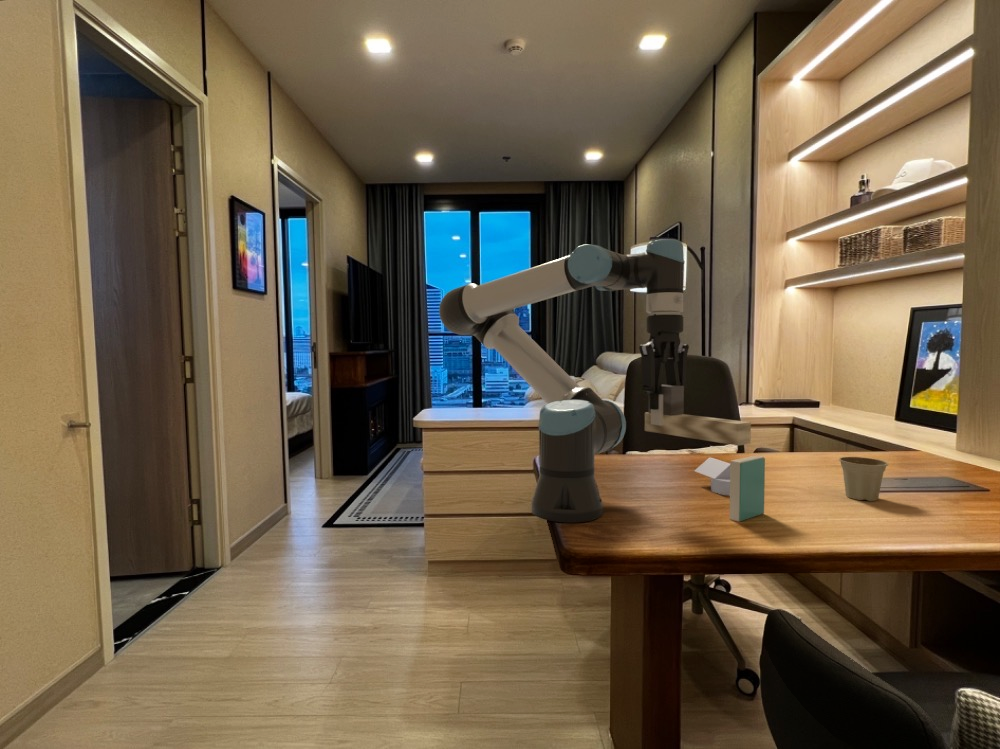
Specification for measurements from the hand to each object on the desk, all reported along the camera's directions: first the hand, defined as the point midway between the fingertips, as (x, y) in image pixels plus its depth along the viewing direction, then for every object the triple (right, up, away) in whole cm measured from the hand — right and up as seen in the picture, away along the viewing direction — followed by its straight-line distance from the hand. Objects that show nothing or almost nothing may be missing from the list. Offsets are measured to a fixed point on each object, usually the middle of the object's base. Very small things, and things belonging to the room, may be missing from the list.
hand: (664, 423), depth 115 cm
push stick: (+4, -2, -6) cm, 8 cm away
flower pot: (+48, -18, +9) cm, 52 cm away
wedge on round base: (+20, -18, +17) cm, 32 cm away
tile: (+16, -19, -4) cm, 25 cm away
